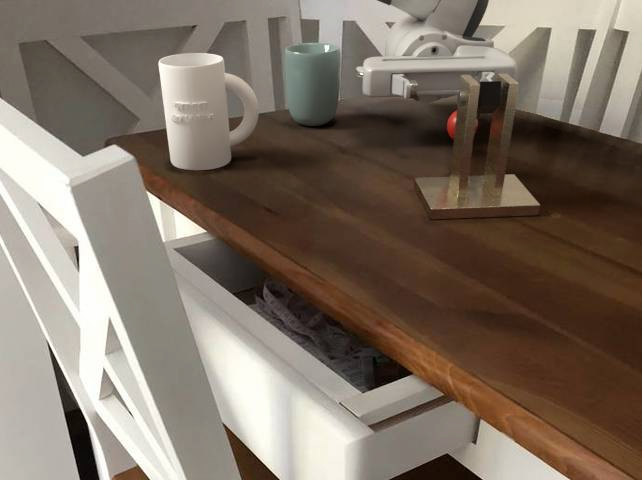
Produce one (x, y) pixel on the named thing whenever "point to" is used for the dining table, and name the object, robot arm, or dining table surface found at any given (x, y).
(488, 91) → the switch
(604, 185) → the dining table surface
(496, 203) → the bracket
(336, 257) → the dining table surface
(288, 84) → the cup
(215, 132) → the mug
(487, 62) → the robot arm
